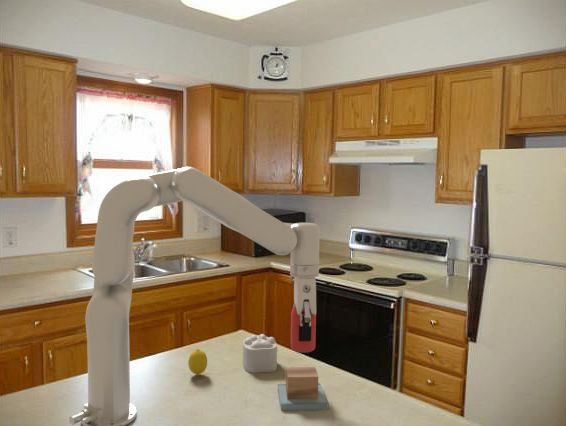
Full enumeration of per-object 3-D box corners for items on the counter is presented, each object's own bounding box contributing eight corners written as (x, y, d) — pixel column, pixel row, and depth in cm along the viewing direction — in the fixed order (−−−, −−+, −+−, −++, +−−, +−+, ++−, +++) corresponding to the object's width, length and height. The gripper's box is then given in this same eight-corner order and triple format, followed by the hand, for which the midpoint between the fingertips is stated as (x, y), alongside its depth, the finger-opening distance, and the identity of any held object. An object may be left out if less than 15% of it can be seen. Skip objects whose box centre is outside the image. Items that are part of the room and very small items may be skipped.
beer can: (320, 349, 129) (321, 305, 128) (304, 355, 124) (305, 309, 123) (301, 342, 133) (302, 300, 132) (285, 348, 128) (286, 304, 128)
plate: (281, 410, 123) (281, 404, 123) (277, 389, 135) (277, 383, 135) (327, 409, 124) (327, 403, 124) (320, 388, 136) (320, 383, 136)
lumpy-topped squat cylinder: (245, 373, 146) (245, 345, 145) (240, 357, 158) (240, 331, 158) (279, 371, 148) (279, 343, 147) (271, 355, 161) (271, 330, 160)
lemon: (205, 379, 141) (205, 352, 140) (186, 378, 141) (186, 352, 140) (208, 371, 146) (208, 346, 146) (190, 371, 146) (190, 345, 146)
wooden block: (317, 398, 127) (318, 376, 126) (287, 399, 126) (287, 377, 126) (314, 387, 133) (314, 366, 133) (285, 388, 133) (285, 367, 132)
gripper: (324, 276, 119) (322, 347, 120) (313, 263, 136) (312, 325, 137) (293, 276, 118) (292, 348, 119) (287, 263, 135) (286, 326, 137)
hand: (303, 335), depth 128 cm, fingers closed on beer can, 6 cm apart
